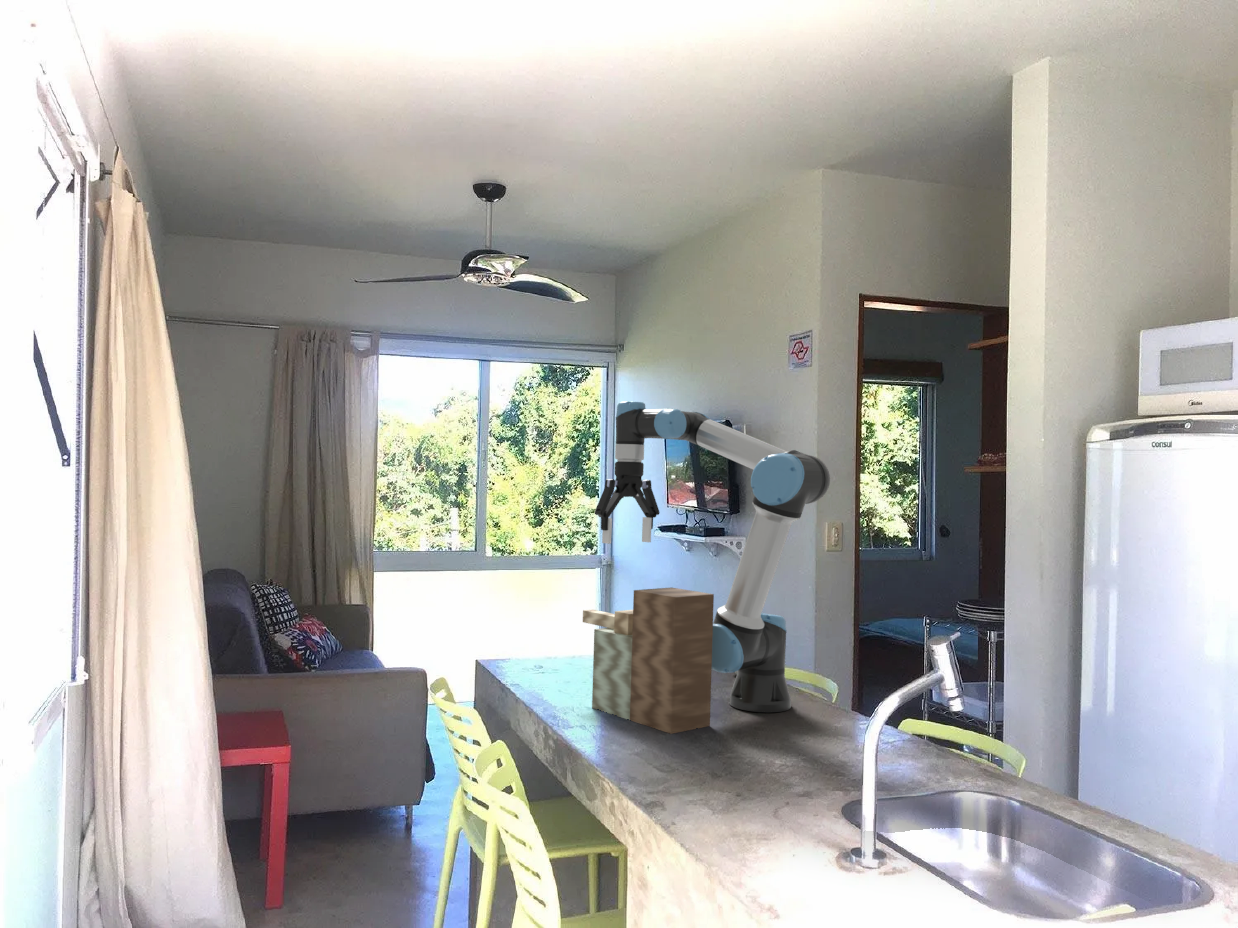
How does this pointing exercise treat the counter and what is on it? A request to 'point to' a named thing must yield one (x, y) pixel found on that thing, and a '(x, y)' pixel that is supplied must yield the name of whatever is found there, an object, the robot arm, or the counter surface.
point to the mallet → (611, 620)
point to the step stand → (658, 662)
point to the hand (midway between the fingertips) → (626, 542)
